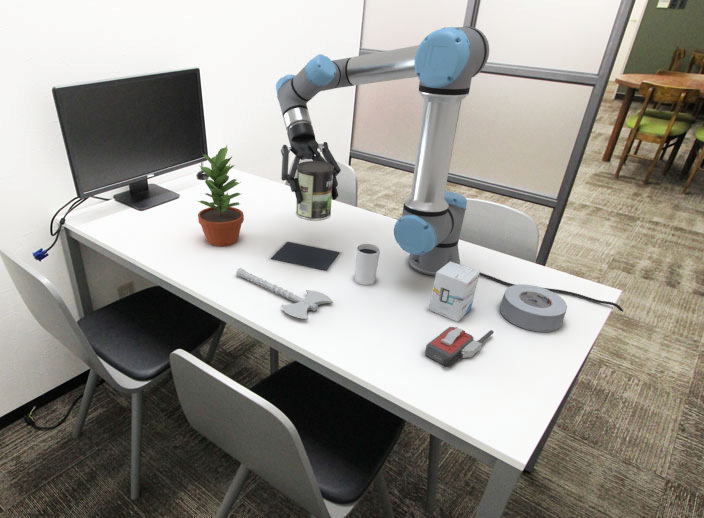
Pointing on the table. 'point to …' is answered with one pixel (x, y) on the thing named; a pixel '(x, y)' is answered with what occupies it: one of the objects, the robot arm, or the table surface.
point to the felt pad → (306, 256)
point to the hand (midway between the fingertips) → (318, 199)
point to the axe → (290, 296)
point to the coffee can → (315, 190)
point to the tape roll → (533, 308)
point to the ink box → (454, 290)
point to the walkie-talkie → (454, 345)
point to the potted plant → (220, 204)
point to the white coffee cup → (366, 263)
